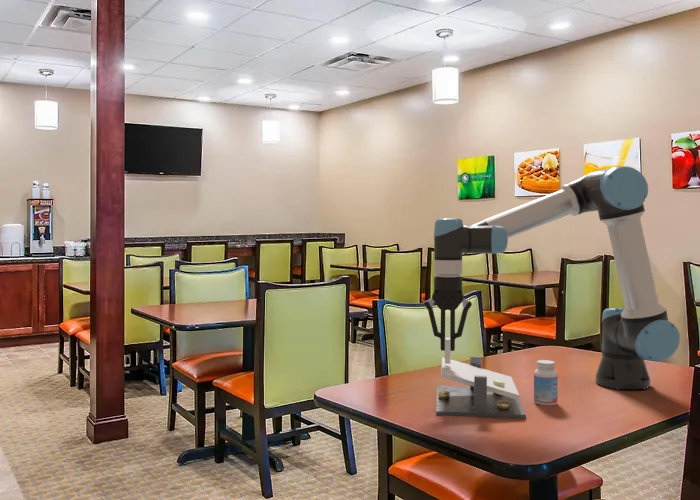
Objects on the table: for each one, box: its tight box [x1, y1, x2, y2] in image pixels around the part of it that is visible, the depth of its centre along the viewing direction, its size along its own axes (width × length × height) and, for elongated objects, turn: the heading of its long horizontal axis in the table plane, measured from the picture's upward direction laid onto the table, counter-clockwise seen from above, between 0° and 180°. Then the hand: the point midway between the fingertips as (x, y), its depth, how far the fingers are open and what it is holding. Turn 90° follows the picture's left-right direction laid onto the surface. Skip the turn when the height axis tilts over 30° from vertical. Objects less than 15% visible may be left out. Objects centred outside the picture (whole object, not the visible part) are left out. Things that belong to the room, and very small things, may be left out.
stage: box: [440, 356, 520, 400], centre depth 173 cm, size 20×22×2 cm
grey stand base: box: [435, 355, 527, 419], centre depth 173 cm, size 22×26×10 cm
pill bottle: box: [533, 359, 559, 407], centre depth 172 cm, size 6×6×11 cm
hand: (447, 362), depth 174 cm, fingers closed
